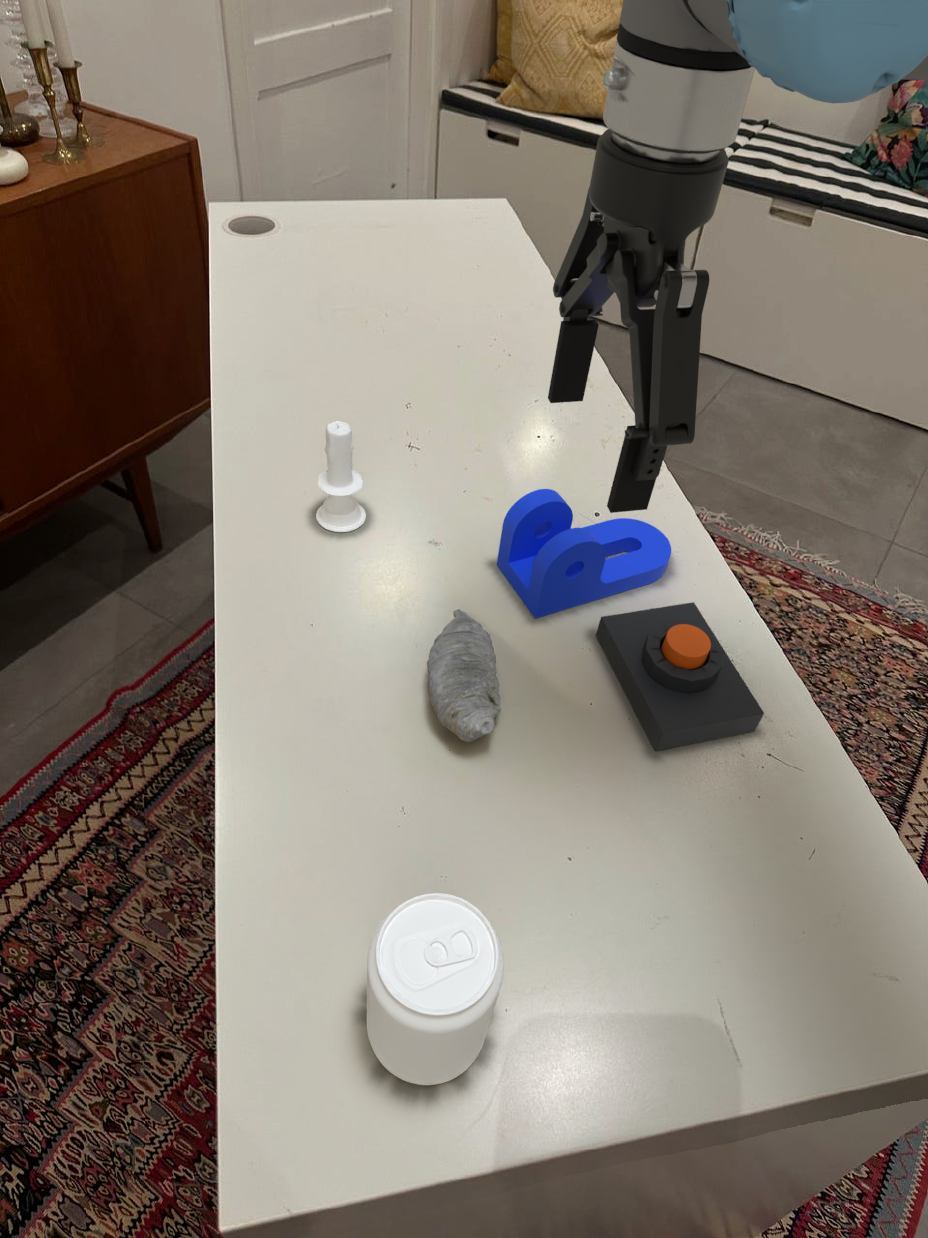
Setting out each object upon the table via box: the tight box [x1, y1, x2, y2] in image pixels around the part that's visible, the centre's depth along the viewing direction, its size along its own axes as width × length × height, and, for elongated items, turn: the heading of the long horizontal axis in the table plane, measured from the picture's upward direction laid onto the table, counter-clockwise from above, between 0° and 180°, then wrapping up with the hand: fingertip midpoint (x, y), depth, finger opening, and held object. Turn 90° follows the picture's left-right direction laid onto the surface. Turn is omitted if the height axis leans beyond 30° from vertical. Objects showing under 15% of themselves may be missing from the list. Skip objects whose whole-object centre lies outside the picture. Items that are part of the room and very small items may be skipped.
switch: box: [662, 624, 711, 670], centre depth 78 cm, size 4×4×2 cm
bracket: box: [496, 488, 672, 619], centre depth 88 cm, size 18×8×9 cm, turn 116°
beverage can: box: [366, 892, 505, 1086], centre depth 54 cm, size 8×8×12 cm
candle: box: [315, 420, 367, 533], centre depth 90 cm, size 5×5×12 cm
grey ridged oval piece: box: [426, 608, 502, 743], centre depth 76 cm, size 6×14×8 cm, turn 4°
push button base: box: [595, 601, 765, 752], centre depth 80 cm, size 14×10×4 cm
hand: (593, 450), depth 64 cm, fingers open, 13 cm apart
